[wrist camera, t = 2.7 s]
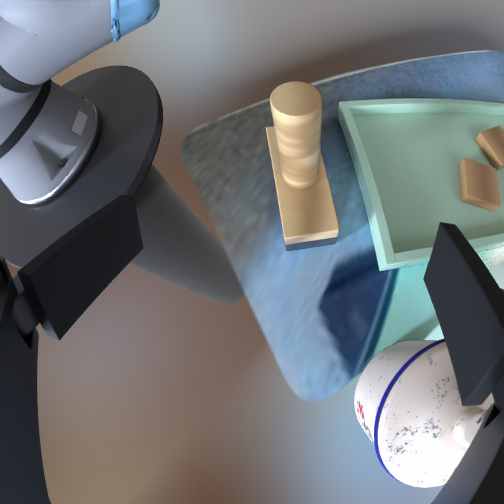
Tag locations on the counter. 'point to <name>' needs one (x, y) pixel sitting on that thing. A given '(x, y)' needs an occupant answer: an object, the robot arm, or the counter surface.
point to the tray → (420, 172)
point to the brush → (301, 167)
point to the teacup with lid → (416, 412)
